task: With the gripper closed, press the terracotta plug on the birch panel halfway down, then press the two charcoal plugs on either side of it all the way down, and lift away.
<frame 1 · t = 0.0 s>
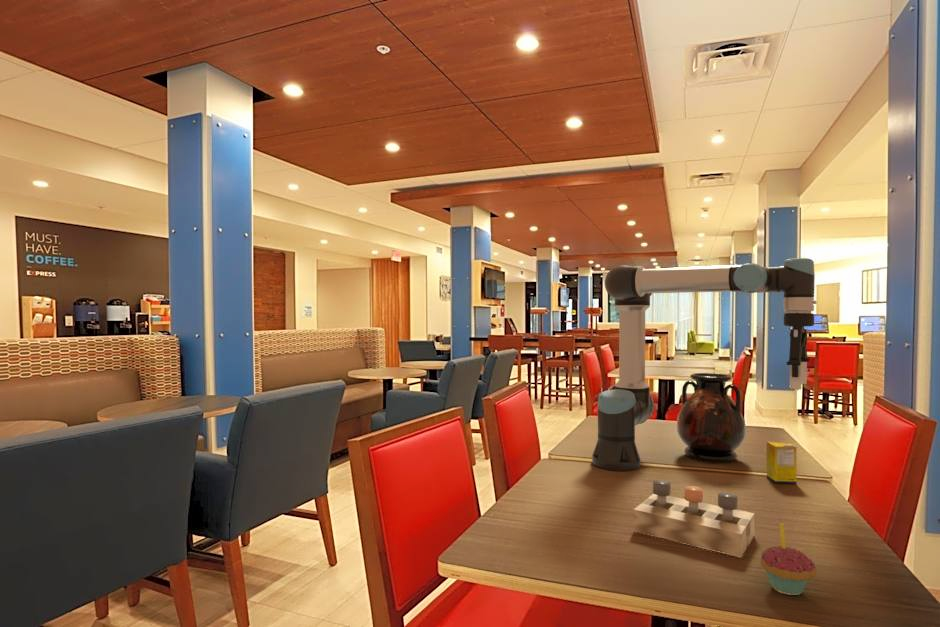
hand: (798, 386, 156), 28 cm above the table, tool pointing down, fingers open, 13 cm apart
charcoal plug left: (661, 493, 125), point 8 cm above the table, slide at 0.0 cm
supplement box: (781, 481, 158), on the table
charcoal plug right: (727, 507, 116), point 8 cm above the table, slide at 0.0 cm
cupcake: (787, 590, 97), on the table
panel: (693, 533, 121), on the table
amphora vase: (710, 457, 184), on the table
terracotta plug: (693, 500, 121), point 8 cm above the table, slide at 0.0 cm
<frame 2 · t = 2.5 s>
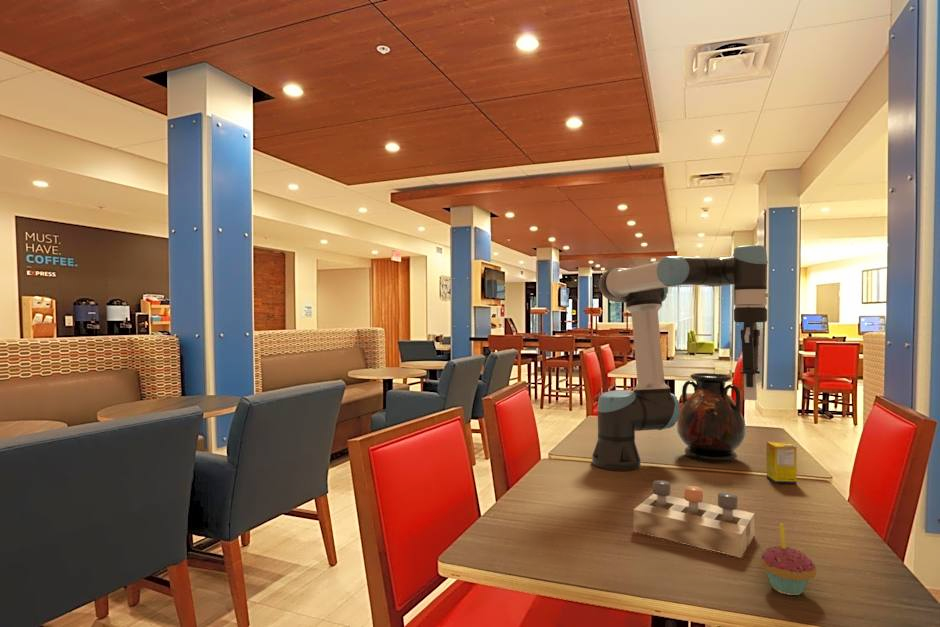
hand: (750, 399, 138), 27 cm above the table, tool pointing down, fingers closed
nothing on the table moved.
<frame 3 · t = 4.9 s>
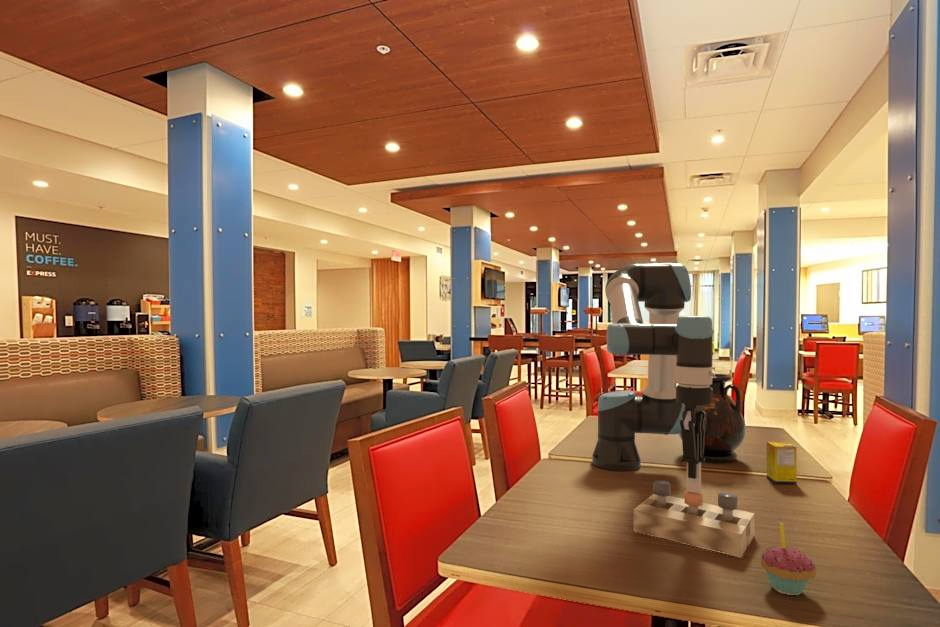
hand: (693, 491, 120), 9 cm above the table, tool pointing down, fingers closed
terracotta plug: (693, 503, 121), point 7 cm above the table, slide at 0.8 cm, touching gripper
everything else where it was.
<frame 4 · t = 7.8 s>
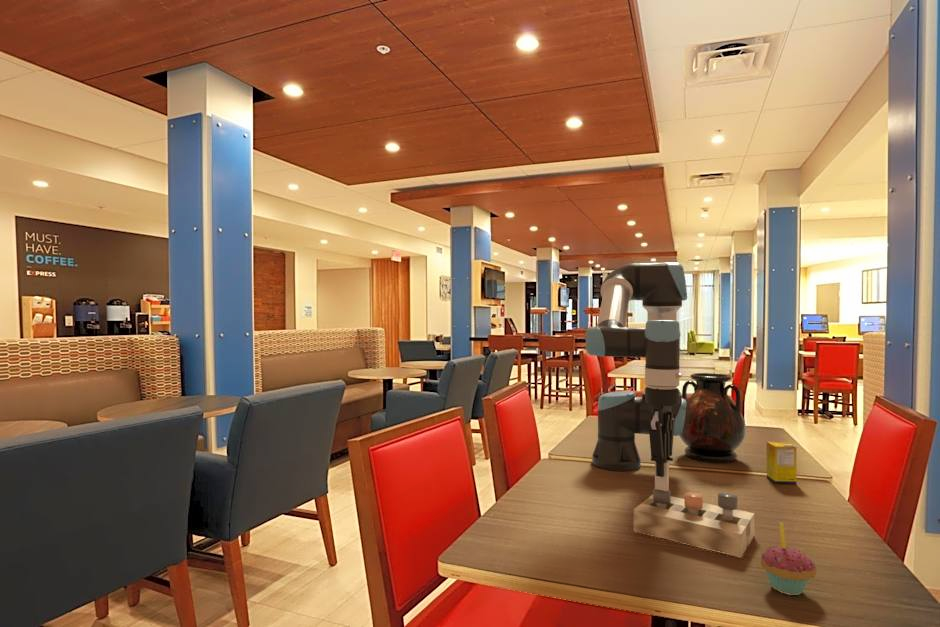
hand: (661, 489, 125), 9 cm above the table, tool pointing down, fingers closed
charcoal plug left: (661, 501, 125), point 6 cm above the table, slide at 1.7 cm, touching gripper
terracotta plug: (693, 506, 121), point 6 cm above the table, slide at 1.5 cm
everything else where it was.
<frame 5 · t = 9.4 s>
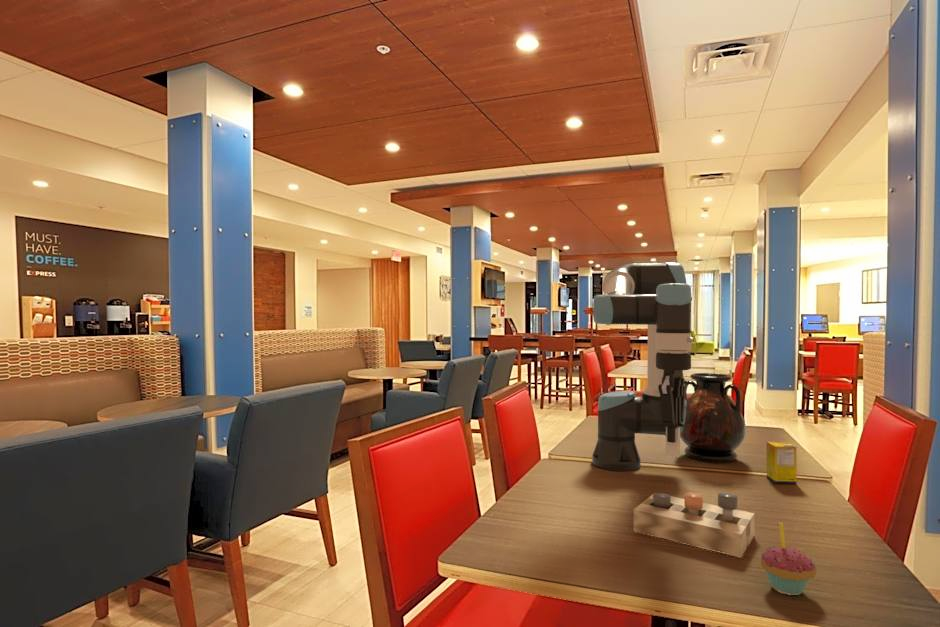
hand: (672, 455, 123), 17 cm above the table, tool pointing down, fingers closed
charcoal plug left: (661, 506, 125), point 5 cm above the table, slide at 3.0 cm
everything else where it was.
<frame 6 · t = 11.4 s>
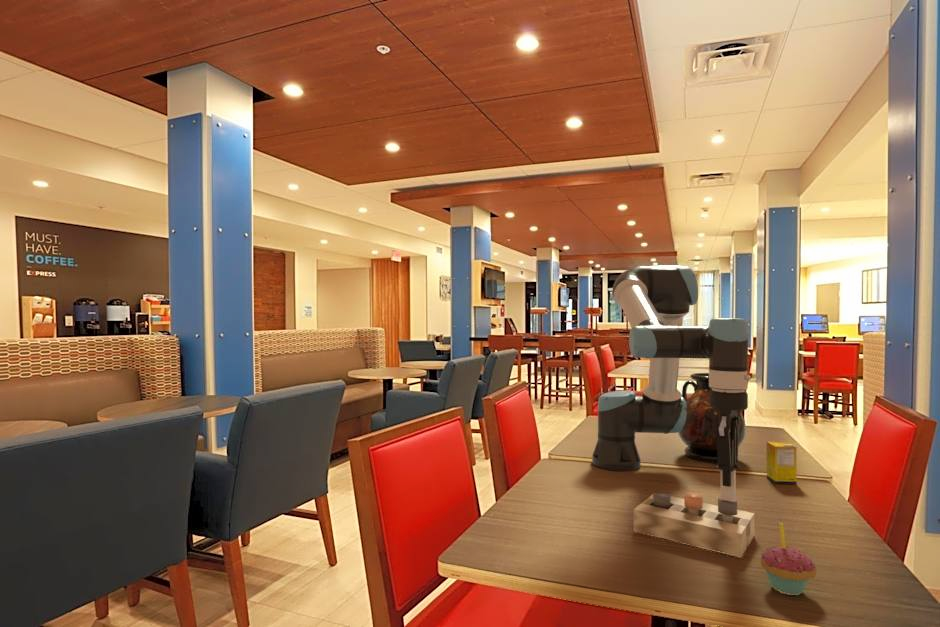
hand: (727, 499, 116), 9 cm above the table, tool pointing down, fingers closed
charcoal plug right: (727, 512, 116), point 6 cm above the table, slide at 1.2 cm, touching gripper
everything else where it was.
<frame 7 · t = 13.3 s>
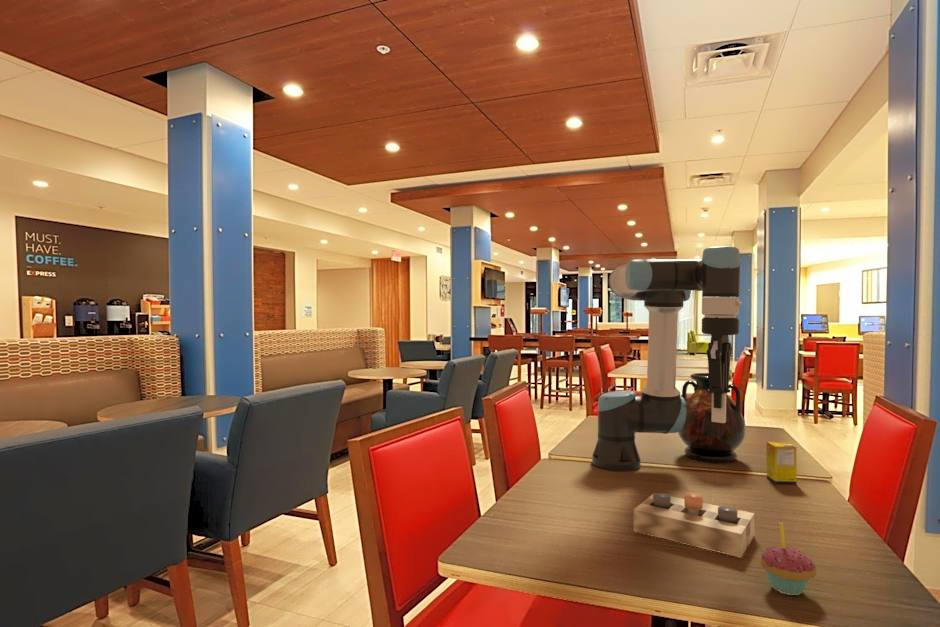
hand: (718, 421, 121), 25 cm above the table, tool pointing down, fingers closed
charcoal plug right: (727, 520, 116), point 5 cm above the table, slide at 3.0 cm
everything else where it was.
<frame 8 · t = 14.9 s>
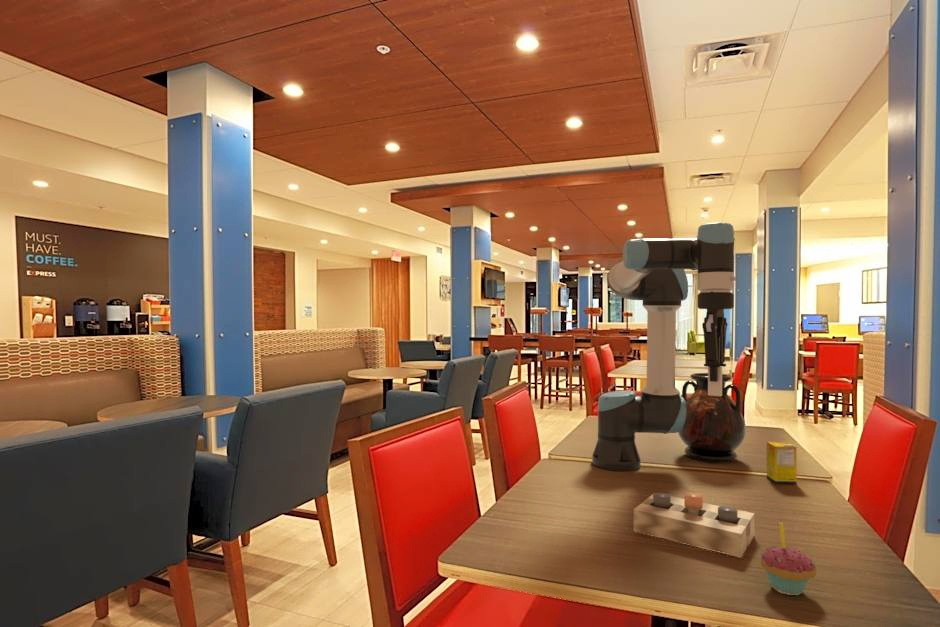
hand: (715, 395, 123), 30 cm above the table, tool pointing down, fingers closed
nothing on the table moved.
at the end: terracotta plug slide at 1.5 cm; charcoal plug left slide at 3.0 cm; charcoal plug right slide at 3.0 cm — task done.
